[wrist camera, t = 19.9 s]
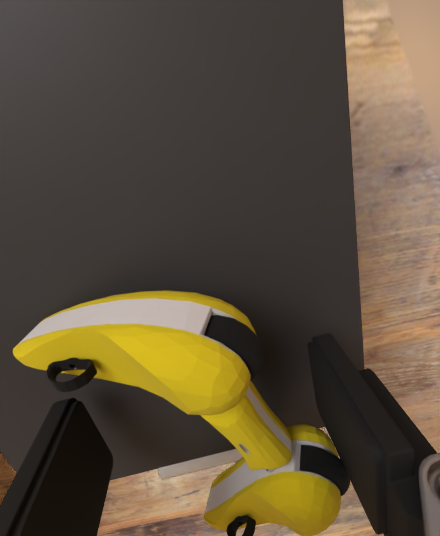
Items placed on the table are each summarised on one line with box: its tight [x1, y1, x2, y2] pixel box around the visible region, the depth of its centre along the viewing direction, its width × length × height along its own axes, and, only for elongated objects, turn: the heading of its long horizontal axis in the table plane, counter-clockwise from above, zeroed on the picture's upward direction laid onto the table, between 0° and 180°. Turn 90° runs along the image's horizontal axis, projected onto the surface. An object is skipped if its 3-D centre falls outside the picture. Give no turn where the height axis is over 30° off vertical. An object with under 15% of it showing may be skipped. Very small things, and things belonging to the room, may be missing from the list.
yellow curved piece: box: [13, 290, 350, 536], centre depth 9 cm, size 10×6×4 cm, turn 31°
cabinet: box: [0, 0, 364, 480], centre depth 13 cm, size 16×14×9 cm
